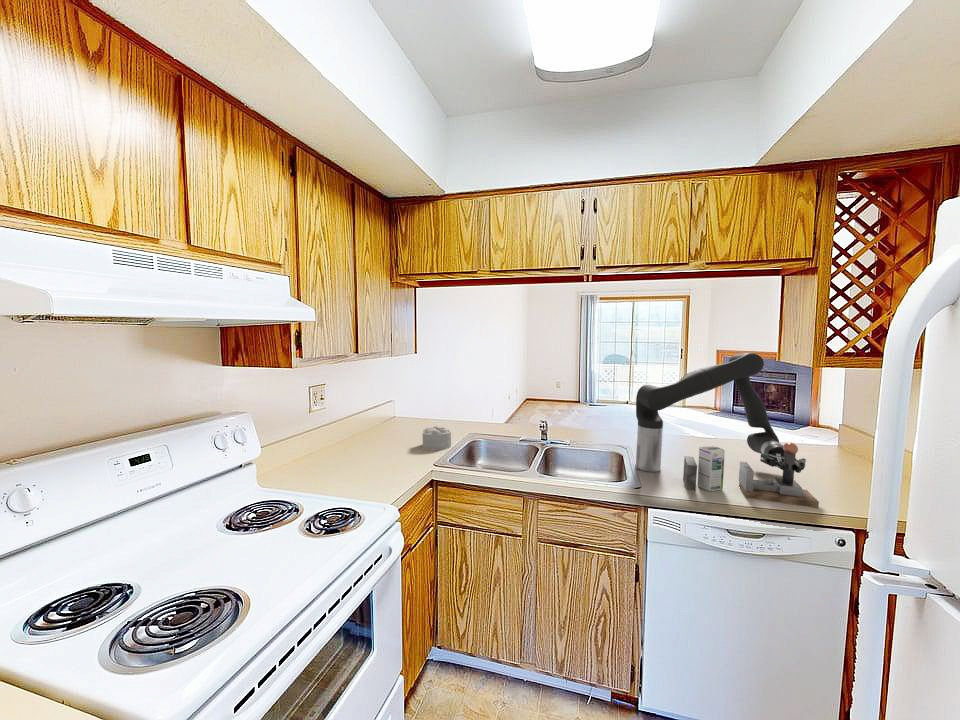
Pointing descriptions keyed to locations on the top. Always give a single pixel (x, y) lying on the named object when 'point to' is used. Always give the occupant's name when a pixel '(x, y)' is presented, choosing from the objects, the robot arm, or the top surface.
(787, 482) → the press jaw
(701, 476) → the syrup box
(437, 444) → the lumpy-topped squat cylinder
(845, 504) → the top surface
